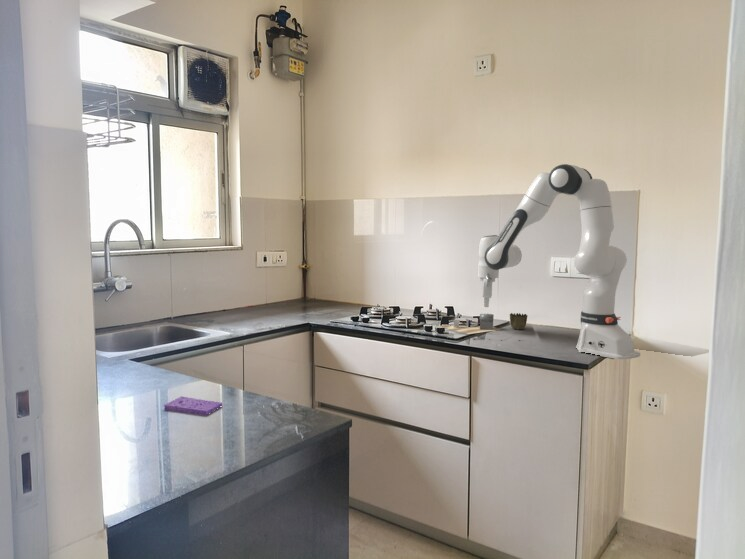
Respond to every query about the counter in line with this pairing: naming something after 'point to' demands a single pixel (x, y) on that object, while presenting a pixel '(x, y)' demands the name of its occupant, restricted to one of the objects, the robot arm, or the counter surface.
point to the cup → (518, 321)
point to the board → (467, 329)
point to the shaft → (456, 323)
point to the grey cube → (486, 321)
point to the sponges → (192, 405)
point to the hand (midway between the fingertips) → (486, 305)
